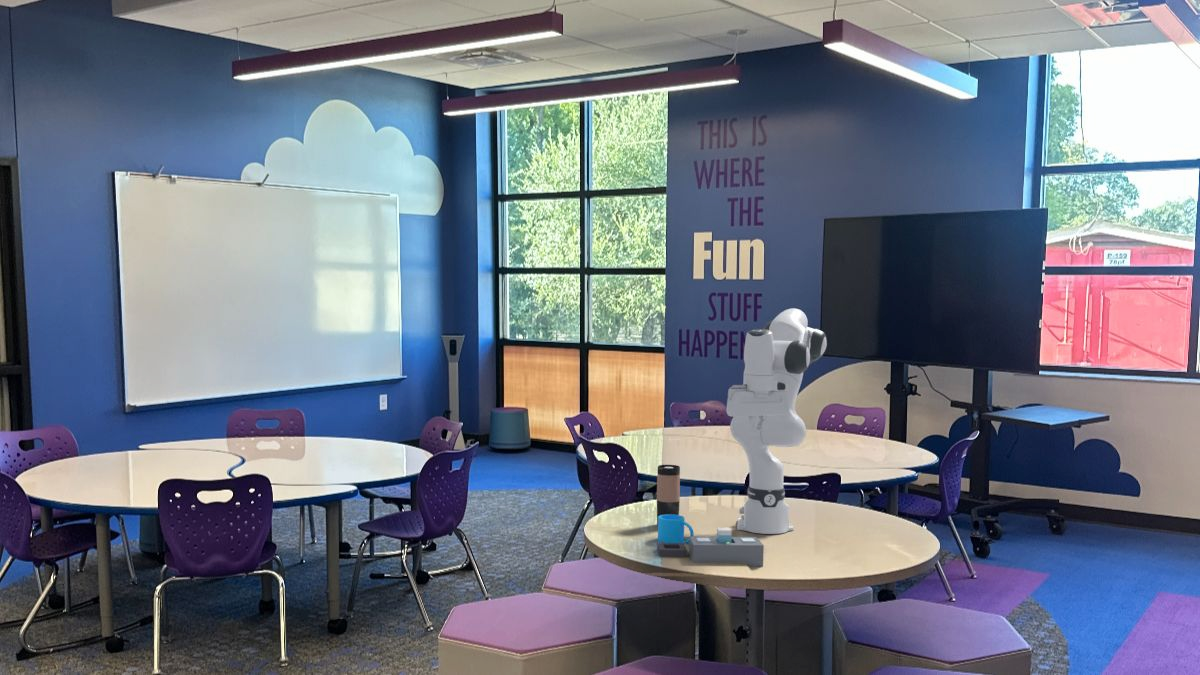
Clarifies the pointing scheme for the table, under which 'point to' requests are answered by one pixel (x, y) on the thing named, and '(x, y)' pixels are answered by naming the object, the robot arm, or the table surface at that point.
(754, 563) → the panel
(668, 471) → the travel mug
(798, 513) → the table surface
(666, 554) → the holster
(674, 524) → the mug
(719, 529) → the plug
